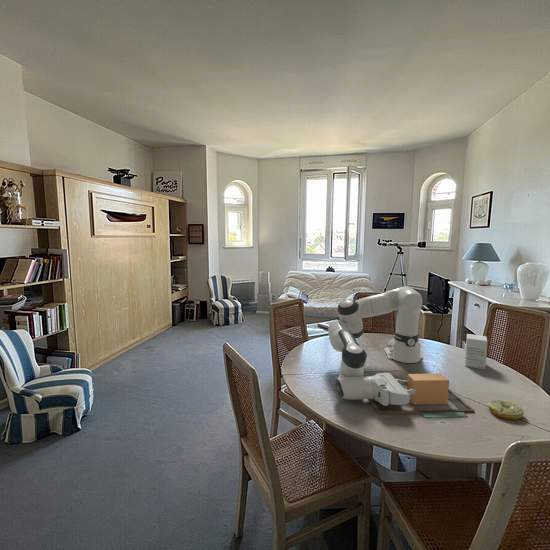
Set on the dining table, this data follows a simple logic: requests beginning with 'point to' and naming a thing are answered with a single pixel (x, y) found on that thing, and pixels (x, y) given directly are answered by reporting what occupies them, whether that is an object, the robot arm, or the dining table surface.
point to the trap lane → (452, 397)
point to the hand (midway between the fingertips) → (410, 386)
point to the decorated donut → (505, 409)
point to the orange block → (428, 388)
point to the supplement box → (476, 351)
